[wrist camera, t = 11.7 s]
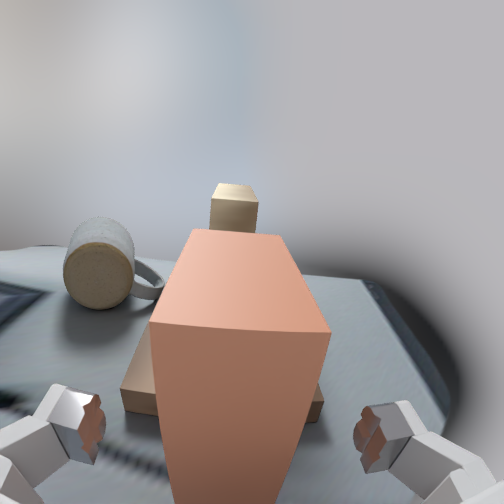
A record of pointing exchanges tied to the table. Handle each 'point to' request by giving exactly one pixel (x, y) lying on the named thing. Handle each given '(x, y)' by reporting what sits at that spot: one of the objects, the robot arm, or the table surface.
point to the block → (234, 366)
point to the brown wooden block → (140, 369)
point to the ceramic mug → (106, 266)
